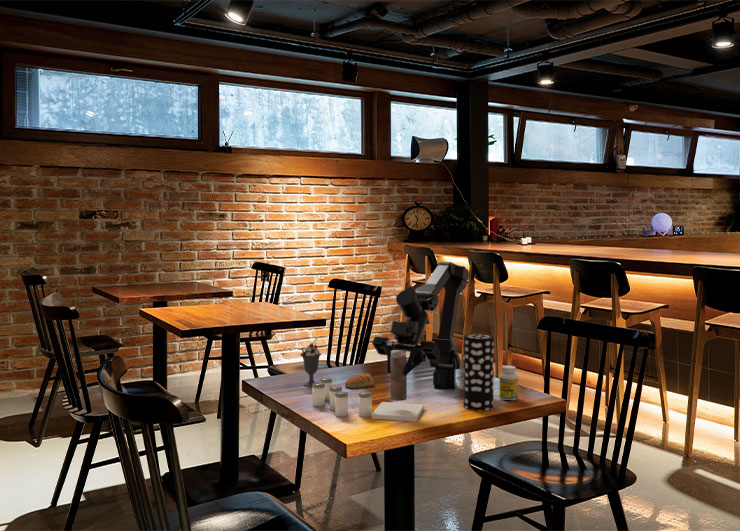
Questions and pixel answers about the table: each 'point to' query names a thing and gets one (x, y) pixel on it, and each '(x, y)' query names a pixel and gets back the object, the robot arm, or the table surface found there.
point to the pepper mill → (398, 375)
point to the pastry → (359, 381)
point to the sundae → (311, 361)
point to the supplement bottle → (508, 383)
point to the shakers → (339, 398)
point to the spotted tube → (478, 371)
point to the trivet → (398, 411)
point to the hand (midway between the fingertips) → (396, 373)
